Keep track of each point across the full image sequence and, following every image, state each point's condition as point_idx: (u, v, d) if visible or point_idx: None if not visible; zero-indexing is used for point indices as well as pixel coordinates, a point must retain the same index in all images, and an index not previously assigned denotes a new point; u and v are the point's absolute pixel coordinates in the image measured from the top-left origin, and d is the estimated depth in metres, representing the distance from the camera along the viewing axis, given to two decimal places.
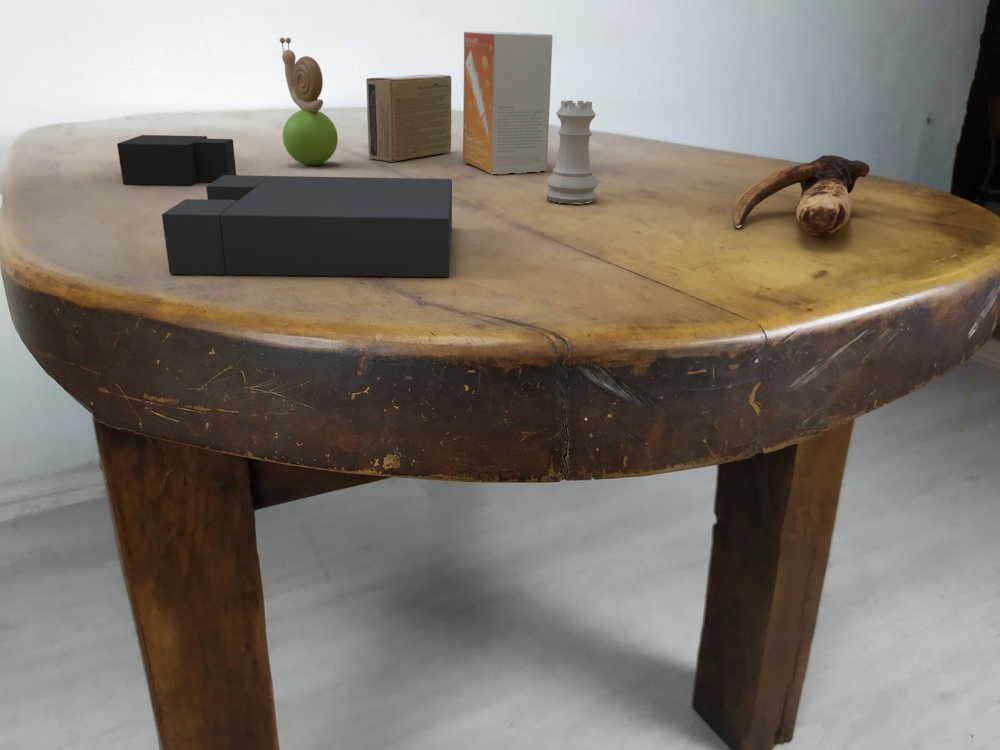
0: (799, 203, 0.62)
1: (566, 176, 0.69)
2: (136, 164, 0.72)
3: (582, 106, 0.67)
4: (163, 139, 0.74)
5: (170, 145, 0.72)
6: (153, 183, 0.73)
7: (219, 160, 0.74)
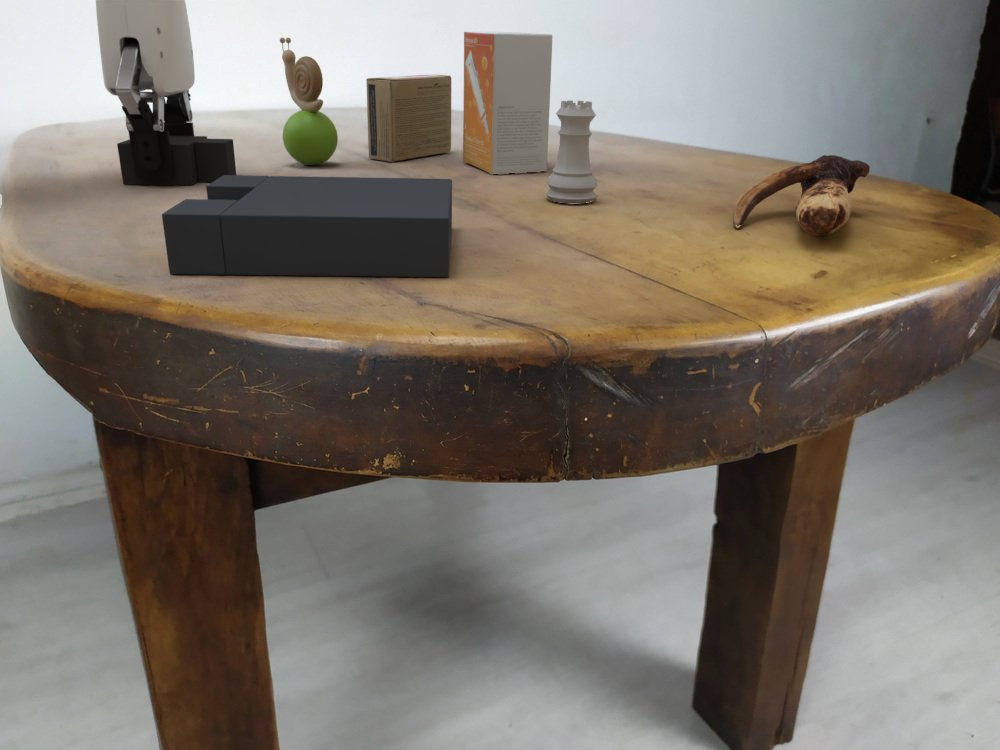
0: (799, 203, 0.62)
1: (566, 176, 0.69)
2: None
3: (582, 106, 0.67)
4: None
5: None
6: (153, 183, 0.73)
7: (219, 160, 0.74)
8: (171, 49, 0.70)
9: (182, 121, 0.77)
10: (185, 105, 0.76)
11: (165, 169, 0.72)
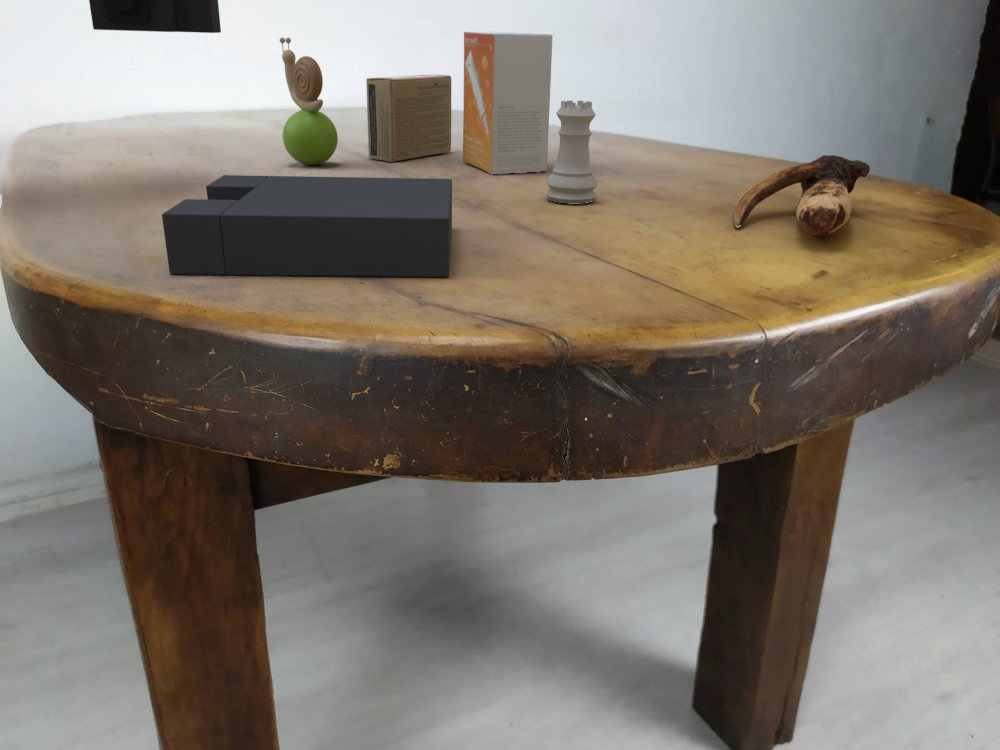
0: (799, 203, 0.62)
1: (566, 176, 0.69)
2: None
3: (582, 106, 0.67)
4: None
5: None
6: (127, 28, 0.65)
7: (202, 6, 0.66)
8: None
9: None
10: None
11: (140, 10, 0.64)
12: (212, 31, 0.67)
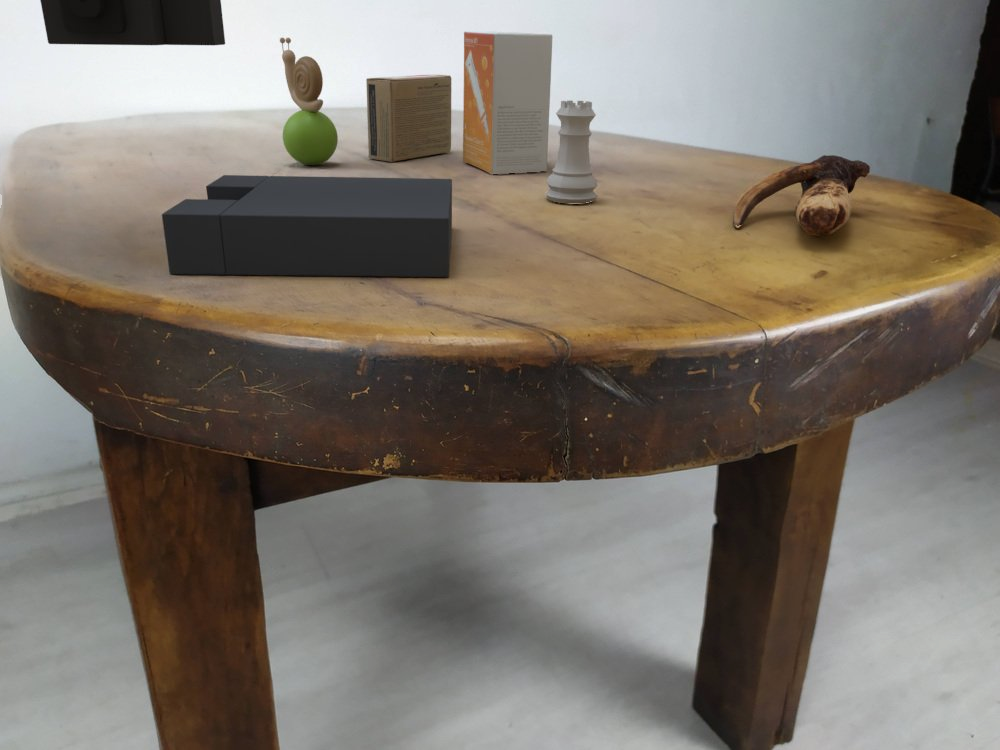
0: (799, 203, 0.62)
1: (566, 176, 0.69)
2: None
3: (582, 106, 0.67)
4: None
5: None
6: (95, 42, 0.47)
7: (198, 8, 0.48)
8: None
9: None
10: None
11: (111, 16, 0.46)
12: (213, 43, 0.49)
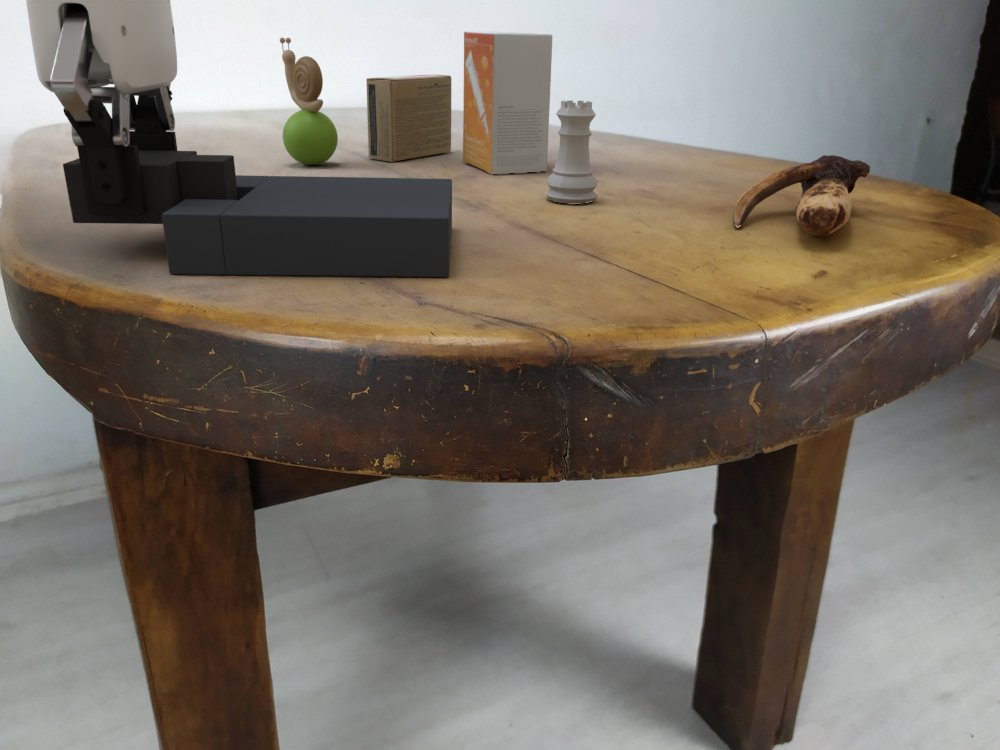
0: (799, 203, 0.62)
1: (566, 176, 0.69)
2: None
3: (582, 106, 0.67)
4: None
5: (141, 166, 0.49)
6: (117, 221, 0.50)
7: (214, 186, 0.51)
8: (139, 23, 0.46)
9: (160, 130, 0.54)
10: (164, 107, 0.53)
11: (133, 201, 0.49)
12: None
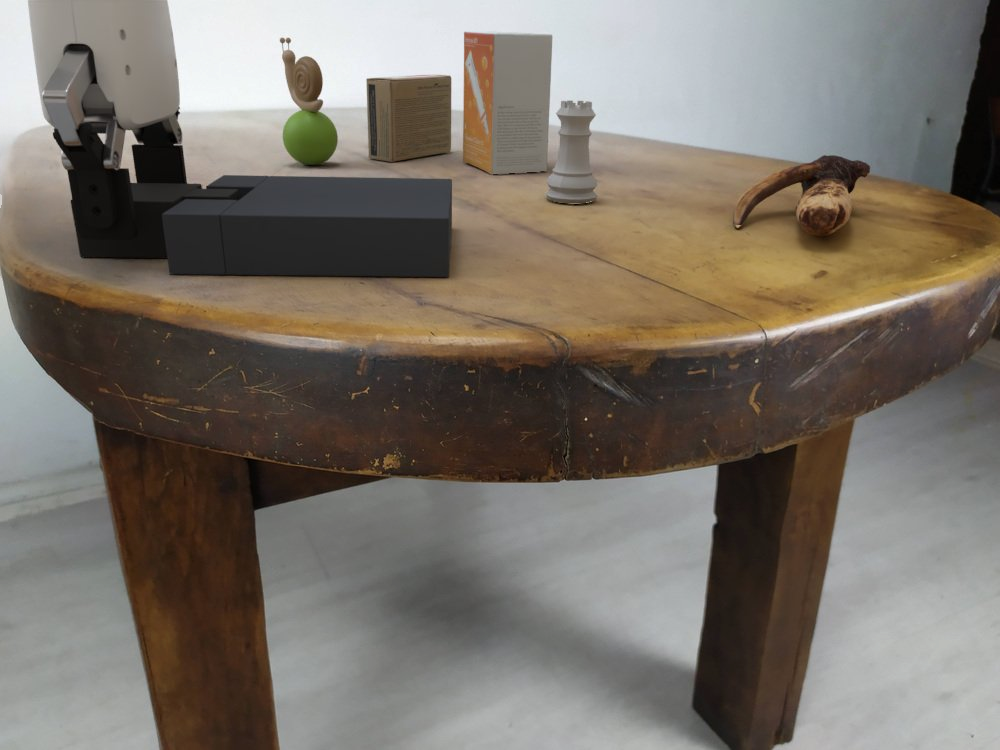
0: (799, 203, 0.62)
1: (566, 176, 0.69)
2: None
3: (582, 106, 0.67)
4: (139, 191, 0.52)
5: (147, 202, 0.49)
6: (124, 256, 0.51)
7: None
8: (143, 61, 0.47)
9: (168, 143, 0.56)
10: (172, 122, 0.55)
11: (124, 225, 0.48)
12: None
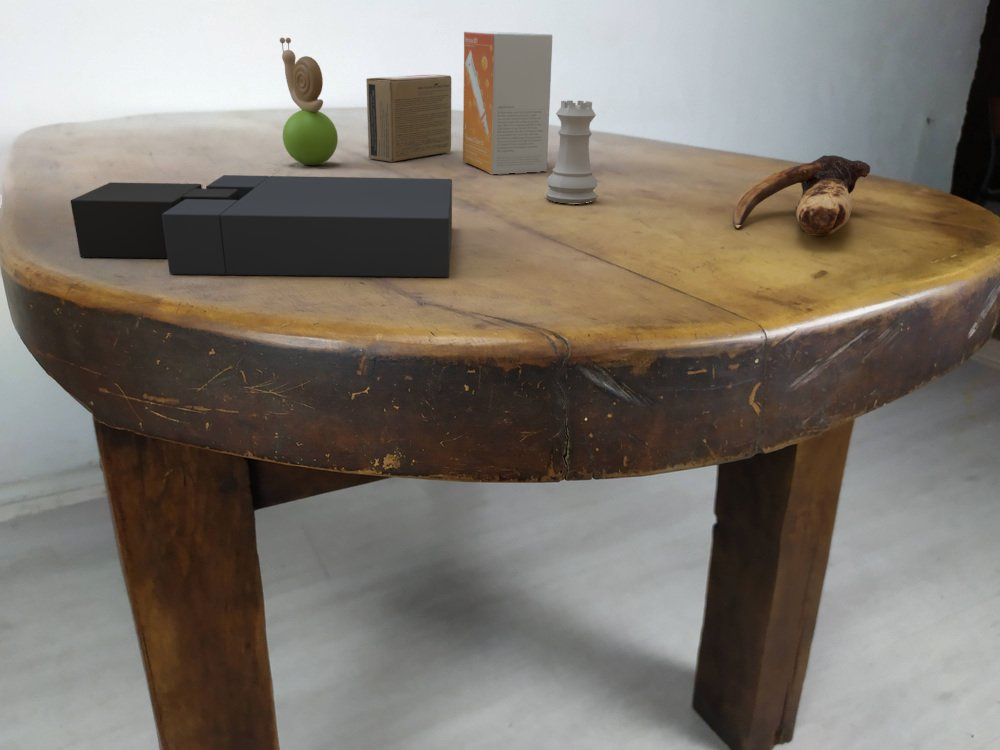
0: (799, 203, 0.62)
1: (566, 176, 0.69)
2: (99, 230, 0.50)
3: (582, 106, 0.67)
4: (139, 191, 0.52)
5: (147, 202, 0.49)
6: (124, 256, 0.51)
7: None
8: None
9: None
10: None
11: None
12: None
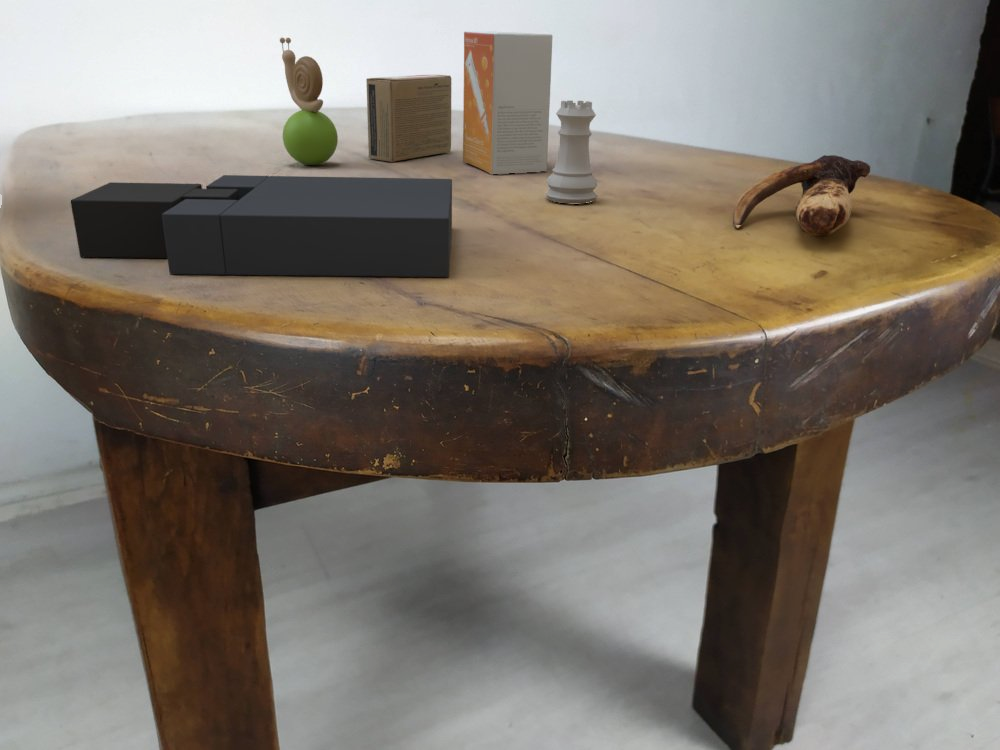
0: (799, 203, 0.62)
1: (566, 176, 0.69)
2: (99, 230, 0.50)
3: (582, 106, 0.67)
4: (139, 191, 0.52)
5: (147, 202, 0.49)
6: (124, 256, 0.51)
7: None
8: None
9: None
10: None
11: None
12: None
